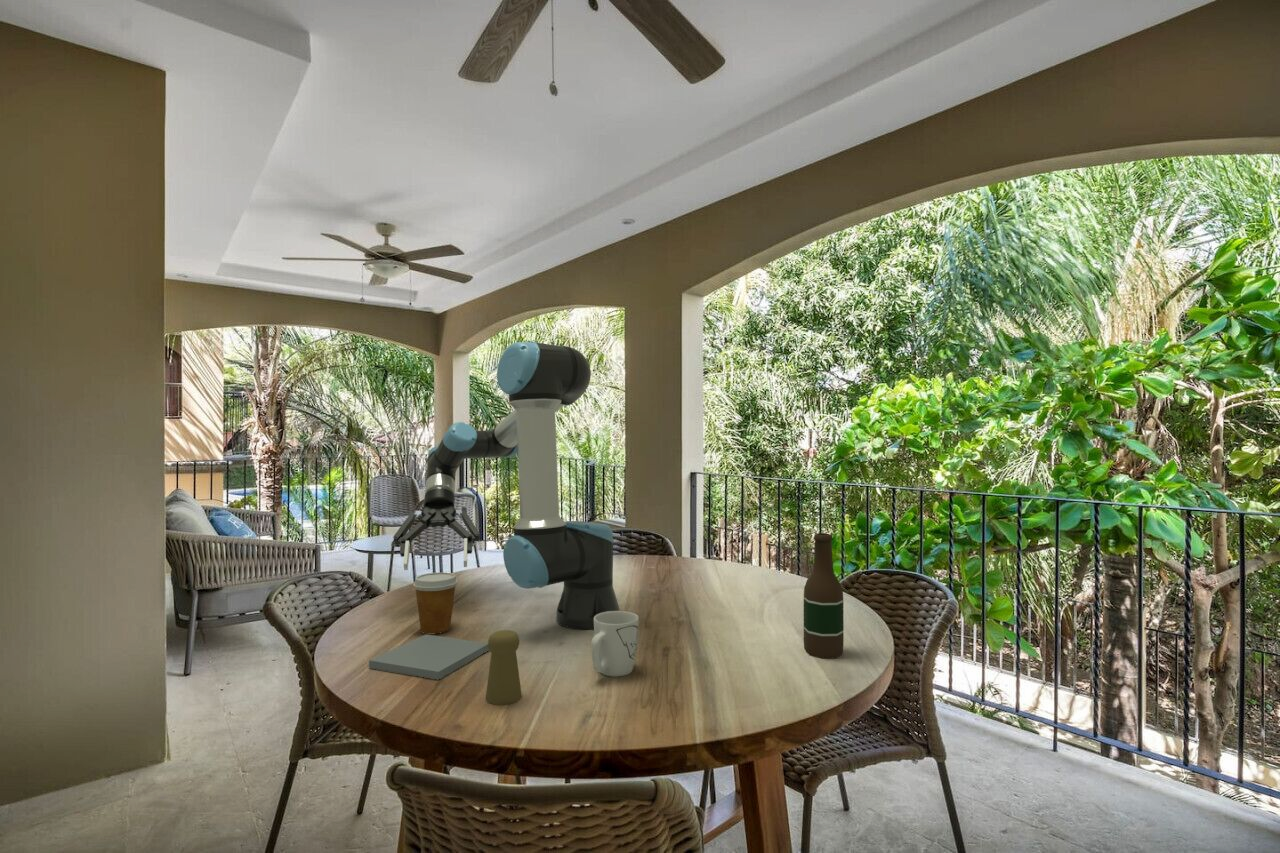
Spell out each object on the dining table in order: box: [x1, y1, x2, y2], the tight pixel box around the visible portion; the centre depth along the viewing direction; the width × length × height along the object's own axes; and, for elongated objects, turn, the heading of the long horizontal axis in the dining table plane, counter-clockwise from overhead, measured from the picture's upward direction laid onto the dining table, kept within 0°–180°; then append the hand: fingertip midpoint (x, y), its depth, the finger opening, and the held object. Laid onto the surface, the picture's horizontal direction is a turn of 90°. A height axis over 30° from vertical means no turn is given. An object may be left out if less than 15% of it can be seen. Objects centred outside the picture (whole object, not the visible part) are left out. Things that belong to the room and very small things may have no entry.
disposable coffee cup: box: [412, 572, 458, 634], centre depth 142 cm, size 10×10×12 cm
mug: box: [590, 610, 640, 678], centre depth 117 cm, size 11×8×10 cm
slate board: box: [368, 634, 489, 681], centre depth 124 cm, size 16×16×2 cm
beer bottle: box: [803, 532, 845, 659], centre depth 128 cm, size 8×8×24 cm
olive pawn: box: [485, 629, 523, 706], centre depth 107 cm, size 6×6×11 cm
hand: (435, 565), depth 150 cm, fingers open, 13 cm apart
